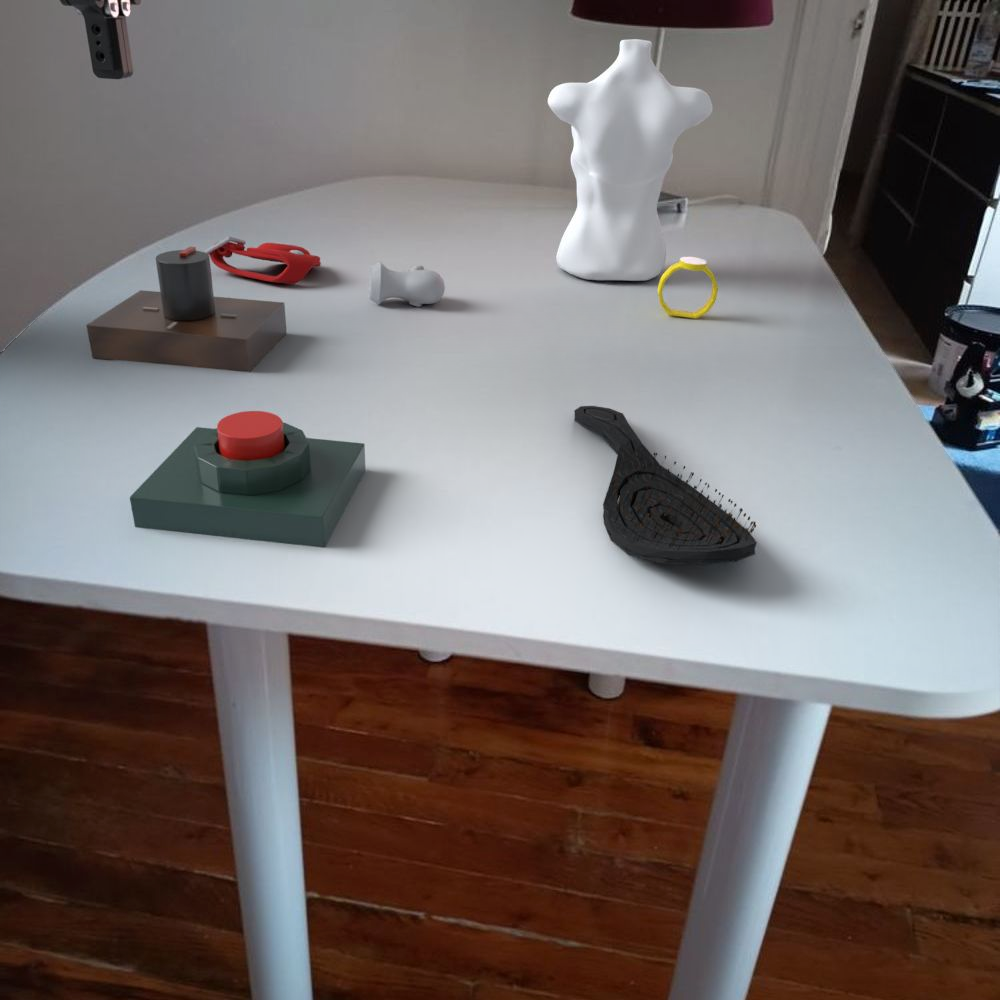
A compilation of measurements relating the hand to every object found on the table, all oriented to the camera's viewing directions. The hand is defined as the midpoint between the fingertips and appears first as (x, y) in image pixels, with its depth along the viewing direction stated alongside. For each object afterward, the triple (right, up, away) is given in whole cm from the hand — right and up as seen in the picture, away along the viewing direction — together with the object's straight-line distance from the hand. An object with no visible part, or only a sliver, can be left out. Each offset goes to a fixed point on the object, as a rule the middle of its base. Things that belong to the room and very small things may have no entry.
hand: (113, 77), depth 63 cm
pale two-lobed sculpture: (+17, -9, +33) cm, 38 cm away
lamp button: (+11, -26, -5) cm, 29 cm away
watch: (+46, -10, +33) cm, 58 cm away
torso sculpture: (+40, -2, +46) cm, 61 cm away
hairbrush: (+36, -29, 0) cm, 46 cm away
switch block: (+11, -29, -3) cm, 31 cm away
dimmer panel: (-1, -15, +19) cm, 25 cm away
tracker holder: (+1, -4, +39) cm, 40 cm away
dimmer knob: (-1, -13, +18) cm, 22 cm away
